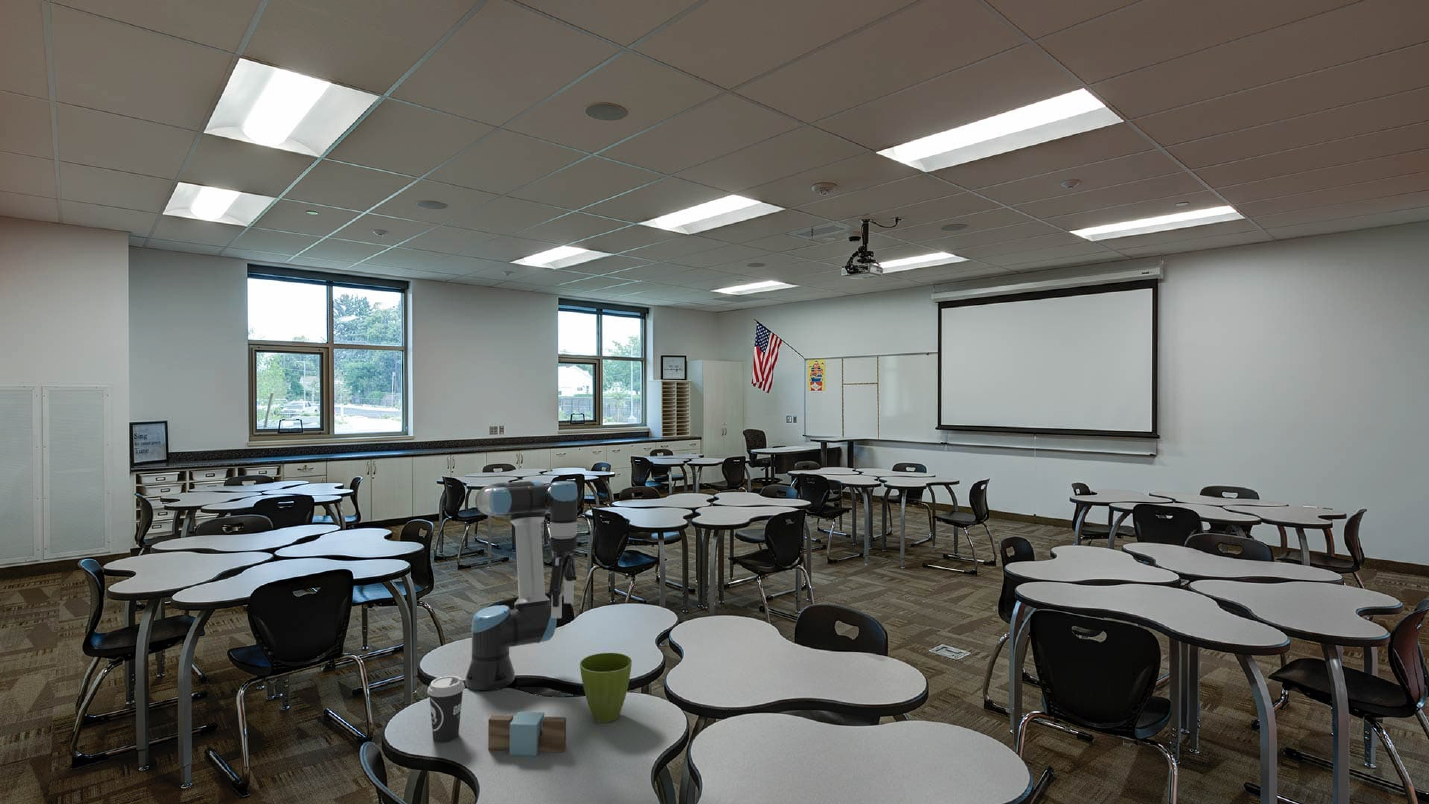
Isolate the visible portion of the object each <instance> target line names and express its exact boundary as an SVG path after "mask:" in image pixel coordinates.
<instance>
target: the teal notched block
mask: <svg viewBox="0 0 1429 804" xmlns="http://www.w3.org/2000/svg"><path fill="white" fill-rule="evenodd" d="M544 718H545V712H543V711H541V712H538V711H518V712H517V714H516V715H515V716H514V717H513V720H512V722H511V723H510V750H509V756H530V757H531V756H533V757H536V756H537V755H538V754H539V751H538V737H539V735H540V734H541V732H542V721H543V719H544Z"/></svg>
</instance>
